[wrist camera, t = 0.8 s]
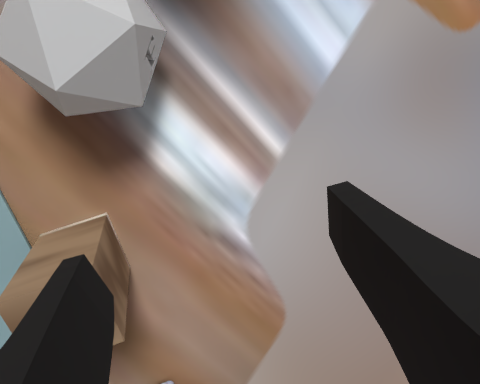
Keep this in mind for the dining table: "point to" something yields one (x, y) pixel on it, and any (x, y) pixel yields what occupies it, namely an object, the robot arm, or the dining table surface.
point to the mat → (9, 254)
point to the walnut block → (63, 247)
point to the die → (83, 51)
